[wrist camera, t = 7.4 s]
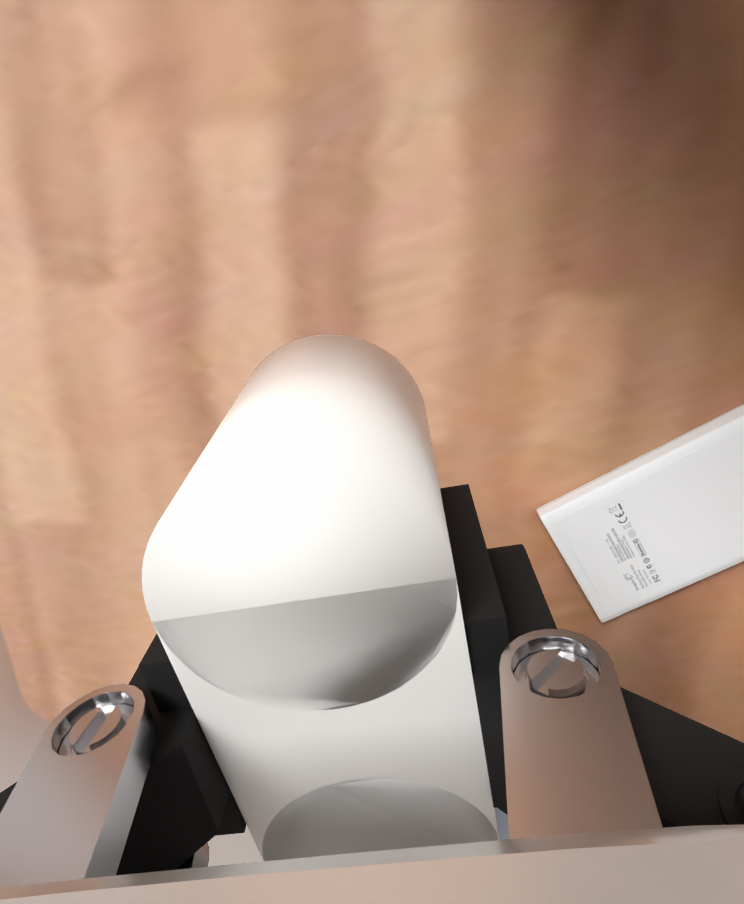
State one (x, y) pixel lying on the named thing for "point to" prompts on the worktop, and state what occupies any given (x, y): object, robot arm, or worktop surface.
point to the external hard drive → (656, 519)
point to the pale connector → (325, 611)
